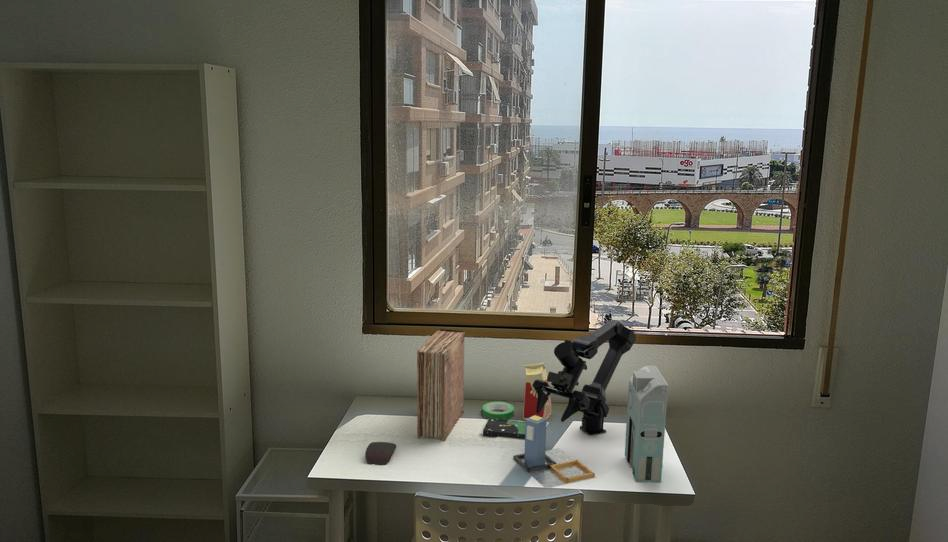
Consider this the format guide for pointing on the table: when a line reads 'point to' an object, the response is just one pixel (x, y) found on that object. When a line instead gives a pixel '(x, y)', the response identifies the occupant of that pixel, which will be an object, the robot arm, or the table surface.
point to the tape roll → (498, 406)
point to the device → (646, 424)
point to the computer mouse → (379, 452)
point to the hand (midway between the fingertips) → (549, 417)
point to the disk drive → (504, 428)
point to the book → (440, 384)
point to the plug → (535, 440)
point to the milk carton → (531, 395)
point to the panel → (556, 469)
